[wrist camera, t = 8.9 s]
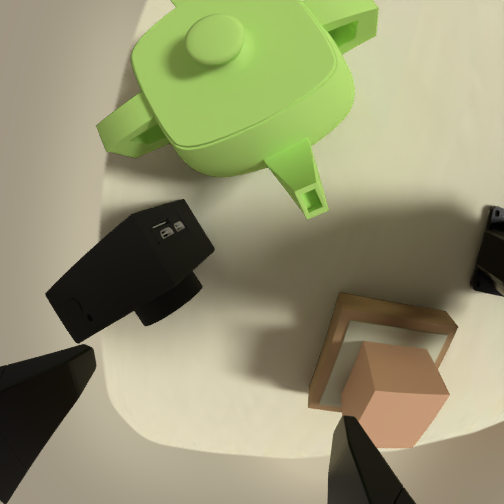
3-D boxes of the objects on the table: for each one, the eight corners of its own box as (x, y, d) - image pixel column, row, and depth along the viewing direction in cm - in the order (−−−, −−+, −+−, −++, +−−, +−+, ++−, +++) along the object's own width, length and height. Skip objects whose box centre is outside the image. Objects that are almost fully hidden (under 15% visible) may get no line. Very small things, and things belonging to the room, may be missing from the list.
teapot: (158, 155, 20) (59, 157, 11) (203, 15, 16) (139, -55, 7) (319, 204, 19) (331, 240, 10) (366, 49, 15) (403, -30, 6)
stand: (445, 311, 19) (459, 327, 16) (403, 398, 22) (409, 418, 19) (339, 292, 20) (342, 309, 18) (309, 387, 23) (307, 409, 20)
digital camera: (131, 317, 24) (85, 359, 18) (98, 265, 23) (43, 295, 17) (225, 263, 21) (188, 306, 15) (184, 198, 20) (130, 214, 14)
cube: (399, 400, 19) (412, 447, 14) (340, 394, 19) (343, 445, 15) (426, 349, 17) (449, 394, 12) (363, 340, 18) (375, 390, 13)
